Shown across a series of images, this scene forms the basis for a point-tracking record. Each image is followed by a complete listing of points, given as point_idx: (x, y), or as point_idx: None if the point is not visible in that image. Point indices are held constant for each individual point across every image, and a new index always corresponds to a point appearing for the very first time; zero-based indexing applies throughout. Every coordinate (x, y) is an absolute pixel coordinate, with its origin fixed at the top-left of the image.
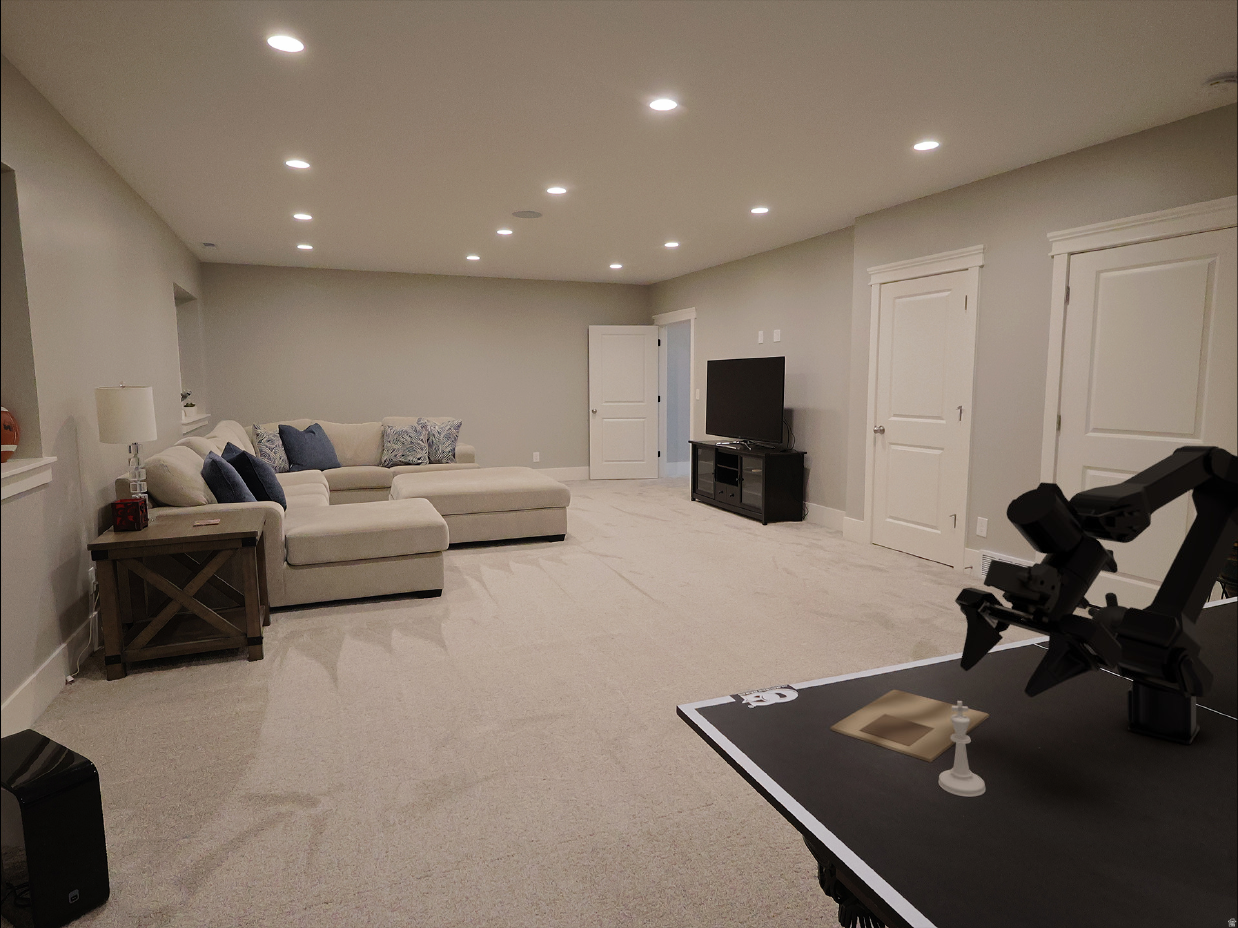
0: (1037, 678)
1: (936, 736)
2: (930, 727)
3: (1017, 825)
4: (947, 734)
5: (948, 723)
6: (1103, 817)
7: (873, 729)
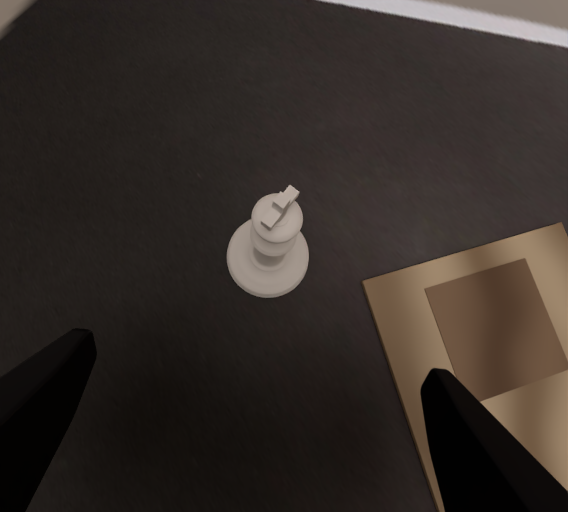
0: (2, 376)
1: None
2: None
3: (128, 223)
4: None
5: None
6: None
7: (515, 284)
